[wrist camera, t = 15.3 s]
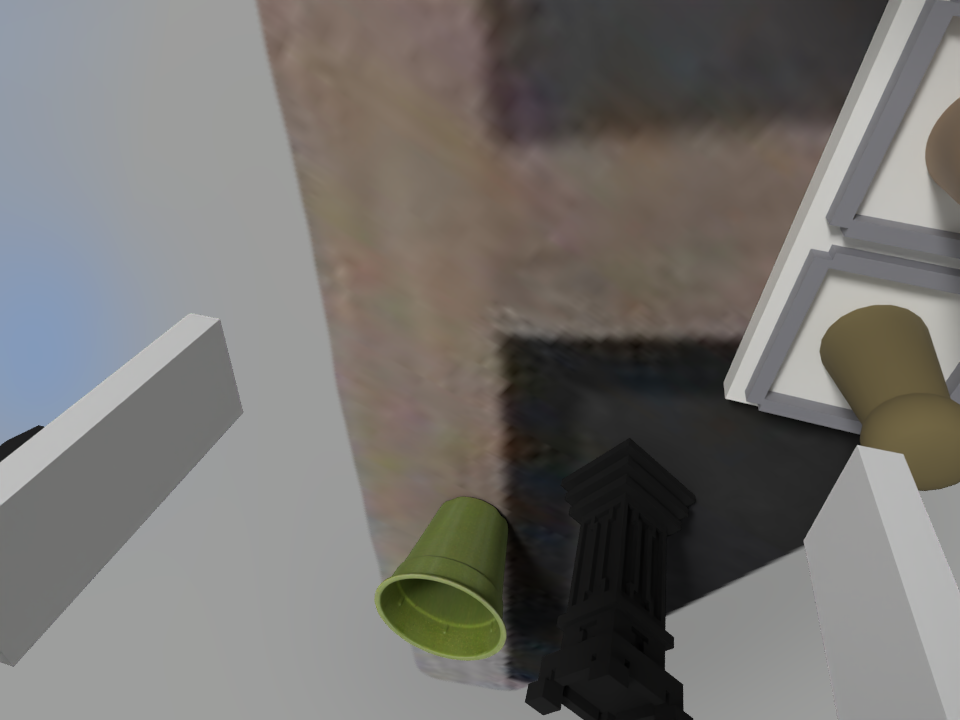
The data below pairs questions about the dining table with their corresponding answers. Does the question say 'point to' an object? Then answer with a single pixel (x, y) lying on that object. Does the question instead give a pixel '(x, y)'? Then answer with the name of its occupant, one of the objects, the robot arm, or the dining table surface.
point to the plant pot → (451, 584)
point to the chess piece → (617, 594)
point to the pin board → (869, 222)
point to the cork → (896, 390)
